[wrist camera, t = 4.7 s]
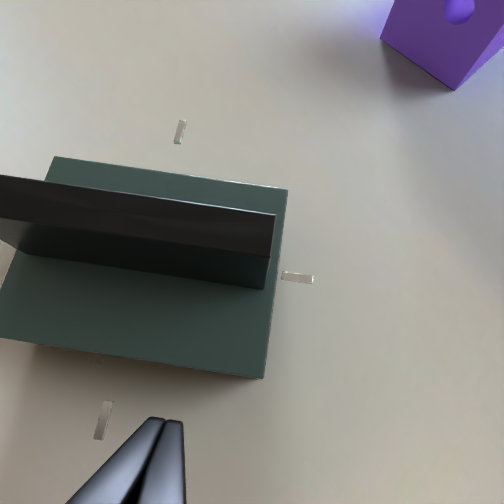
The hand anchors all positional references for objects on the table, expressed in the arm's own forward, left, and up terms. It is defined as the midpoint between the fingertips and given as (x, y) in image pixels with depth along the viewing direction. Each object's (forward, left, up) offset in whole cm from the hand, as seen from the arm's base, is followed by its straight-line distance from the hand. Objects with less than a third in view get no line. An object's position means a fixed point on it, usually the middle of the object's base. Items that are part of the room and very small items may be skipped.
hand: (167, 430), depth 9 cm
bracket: (+25, +21, -10) cm, 34 cm away
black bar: (-1, +7, -6) cm, 9 cm away
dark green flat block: (-1, +7, -10) cm, 12 cm away
